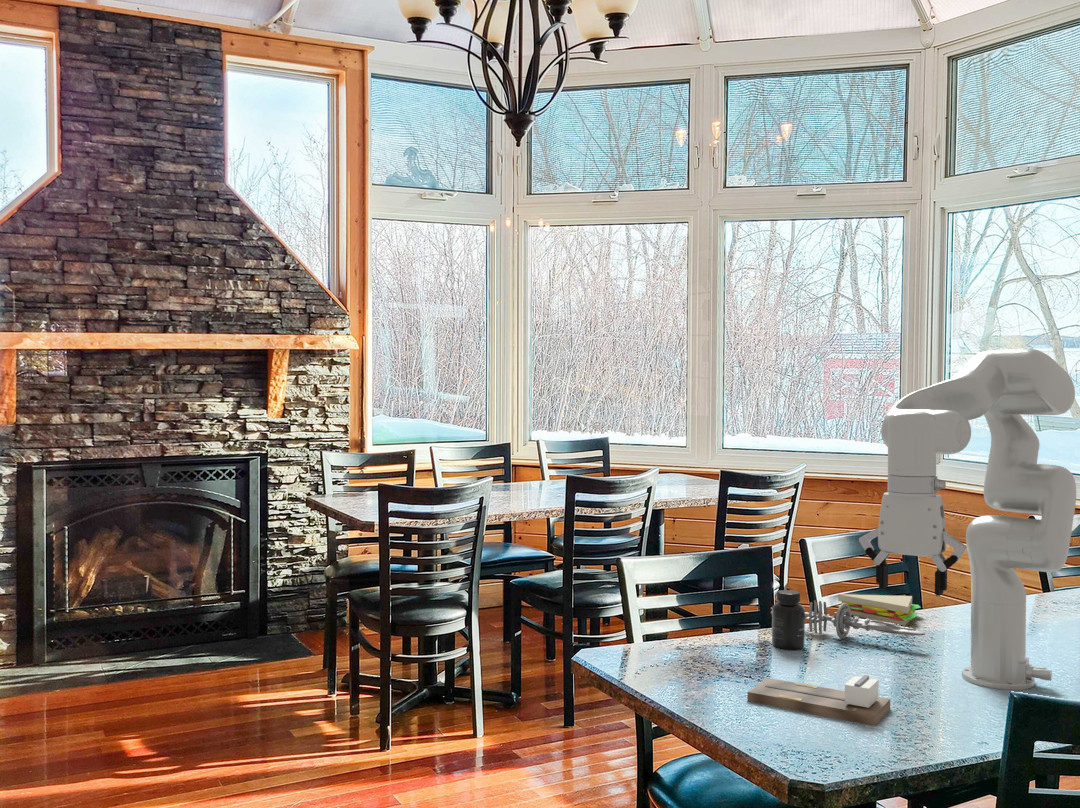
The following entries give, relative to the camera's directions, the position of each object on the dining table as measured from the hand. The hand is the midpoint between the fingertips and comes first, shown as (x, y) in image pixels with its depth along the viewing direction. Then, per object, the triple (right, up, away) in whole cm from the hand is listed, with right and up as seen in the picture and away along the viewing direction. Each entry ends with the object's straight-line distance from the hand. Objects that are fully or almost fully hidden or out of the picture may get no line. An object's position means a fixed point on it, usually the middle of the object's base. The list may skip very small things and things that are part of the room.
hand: (910, 590), depth 160 cm
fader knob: (-7, -20, +5) cm, 21 cm away
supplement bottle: (-8, -22, +48) cm, 53 cm away
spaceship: (+6, -22, +55) cm, 60 cm away
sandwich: (+22, -22, +77) cm, 83 cm away
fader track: (-13, -22, +9) cm, 27 cm away
